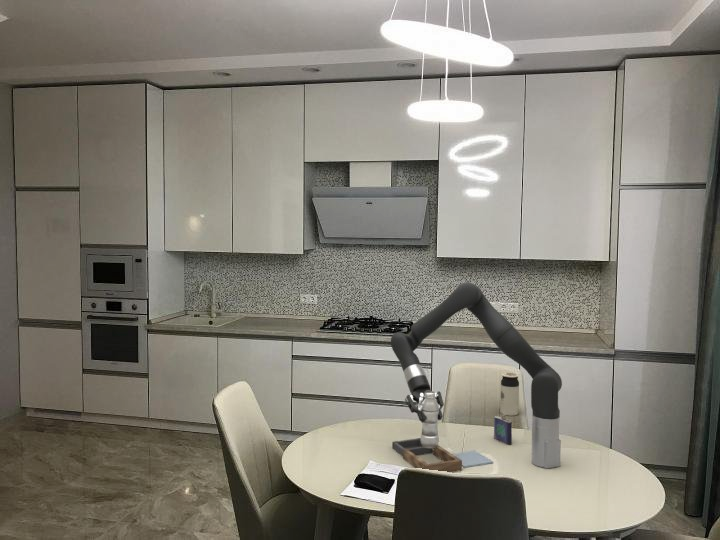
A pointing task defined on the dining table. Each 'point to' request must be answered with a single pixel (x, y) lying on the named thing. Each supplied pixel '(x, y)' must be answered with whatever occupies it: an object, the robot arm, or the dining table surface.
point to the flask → (503, 429)
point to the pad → (472, 459)
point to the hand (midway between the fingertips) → (432, 420)
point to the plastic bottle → (430, 421)
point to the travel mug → (509, 394)
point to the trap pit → (411, 447)
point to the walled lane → (448, 464)
